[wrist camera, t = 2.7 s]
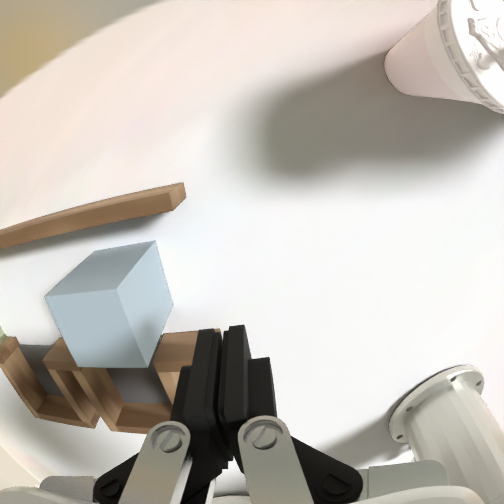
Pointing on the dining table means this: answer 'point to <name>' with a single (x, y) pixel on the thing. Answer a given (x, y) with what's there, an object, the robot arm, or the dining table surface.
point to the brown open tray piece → (95, 378)
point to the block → (113, 307)
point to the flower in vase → (231, 500)
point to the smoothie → (453, 54)
